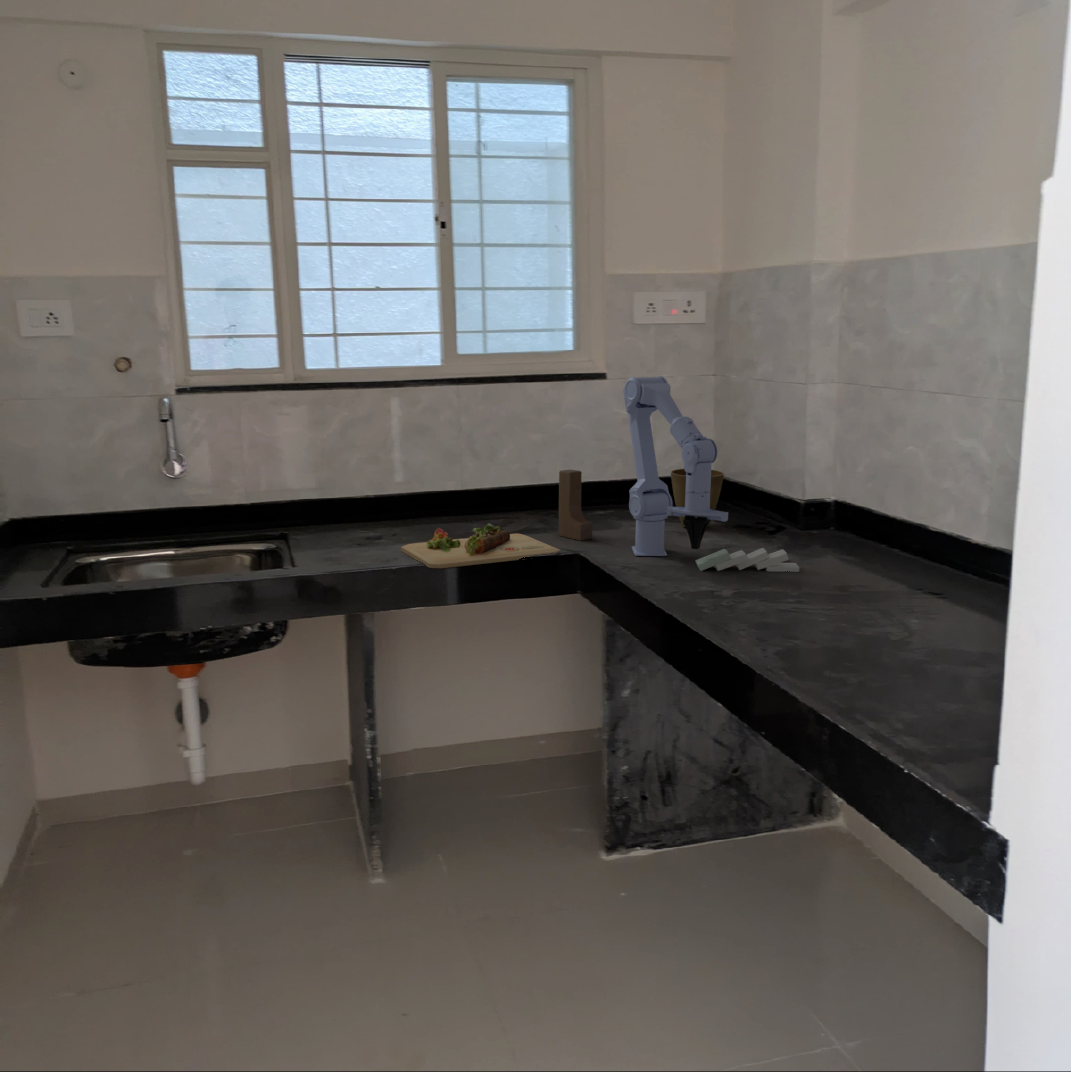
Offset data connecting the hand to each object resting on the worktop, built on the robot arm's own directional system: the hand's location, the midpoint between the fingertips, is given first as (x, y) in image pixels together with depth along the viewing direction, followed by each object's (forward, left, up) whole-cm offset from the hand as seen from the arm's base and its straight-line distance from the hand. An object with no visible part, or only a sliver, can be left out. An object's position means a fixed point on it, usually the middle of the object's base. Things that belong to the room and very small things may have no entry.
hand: (695, 548), depth 232 cm
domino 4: (0, +14, -4) cm, 15 cm away
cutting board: (-16, -52, -6) cm, 55 cm away
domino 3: (-1, +10, -4) cm, 11 cm away
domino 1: (0, +1, -4) cm, 4 cm away
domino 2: (0, +5, -4) cm, 6 cm away
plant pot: (-50, +8, -5) cm, 51 cm away
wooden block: (-35, -27, -5) cm, 45 cm away
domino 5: (0, +17, -5) cm, 17 cm away
